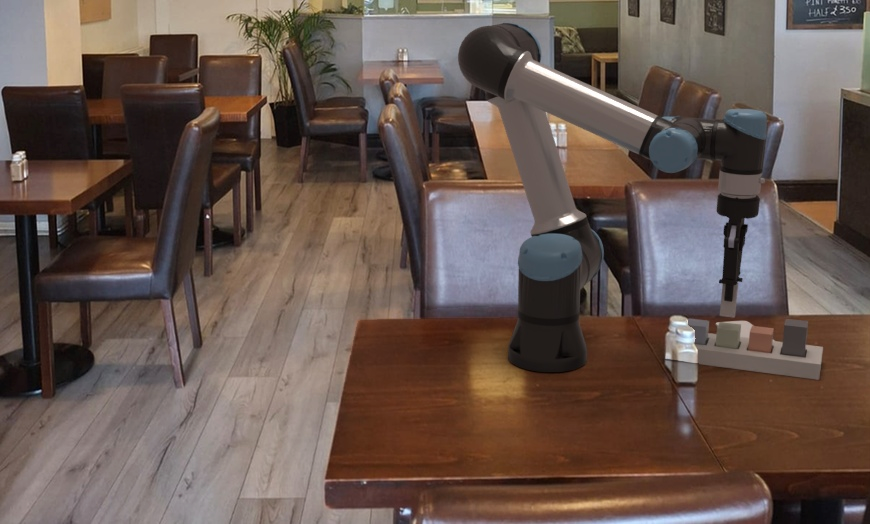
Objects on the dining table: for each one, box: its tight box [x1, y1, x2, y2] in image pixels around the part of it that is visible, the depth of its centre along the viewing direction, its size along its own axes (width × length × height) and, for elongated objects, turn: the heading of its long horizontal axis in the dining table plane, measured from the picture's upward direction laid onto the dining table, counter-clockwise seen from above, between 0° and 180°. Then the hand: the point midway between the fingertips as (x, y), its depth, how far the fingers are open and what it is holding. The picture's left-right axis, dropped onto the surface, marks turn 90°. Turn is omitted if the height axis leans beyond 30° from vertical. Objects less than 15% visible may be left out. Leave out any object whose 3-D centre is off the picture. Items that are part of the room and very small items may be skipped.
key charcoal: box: [782, 318, 809, 357], centre depth 194 cm, size 4×4×6 cm
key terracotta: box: [748, 325, 775, 353], centre depth 197 cm, size 4×4×6 cm
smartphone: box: [715, 320, 776, 341], centre depth 213 cm, size 7×1×15 cm
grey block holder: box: [664, 332, 824, 381], centre depth 199 cm, size 28×10×3 cm, turn 68°
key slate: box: [687, 317, 710, 345], centre depth 201 cm, size 4×4×6 cm
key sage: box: [716, 321, 741, 349], centre depth 199 cm, size 4×4×6 cm
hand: (727, 315), depth 198 cm, fingers closed
